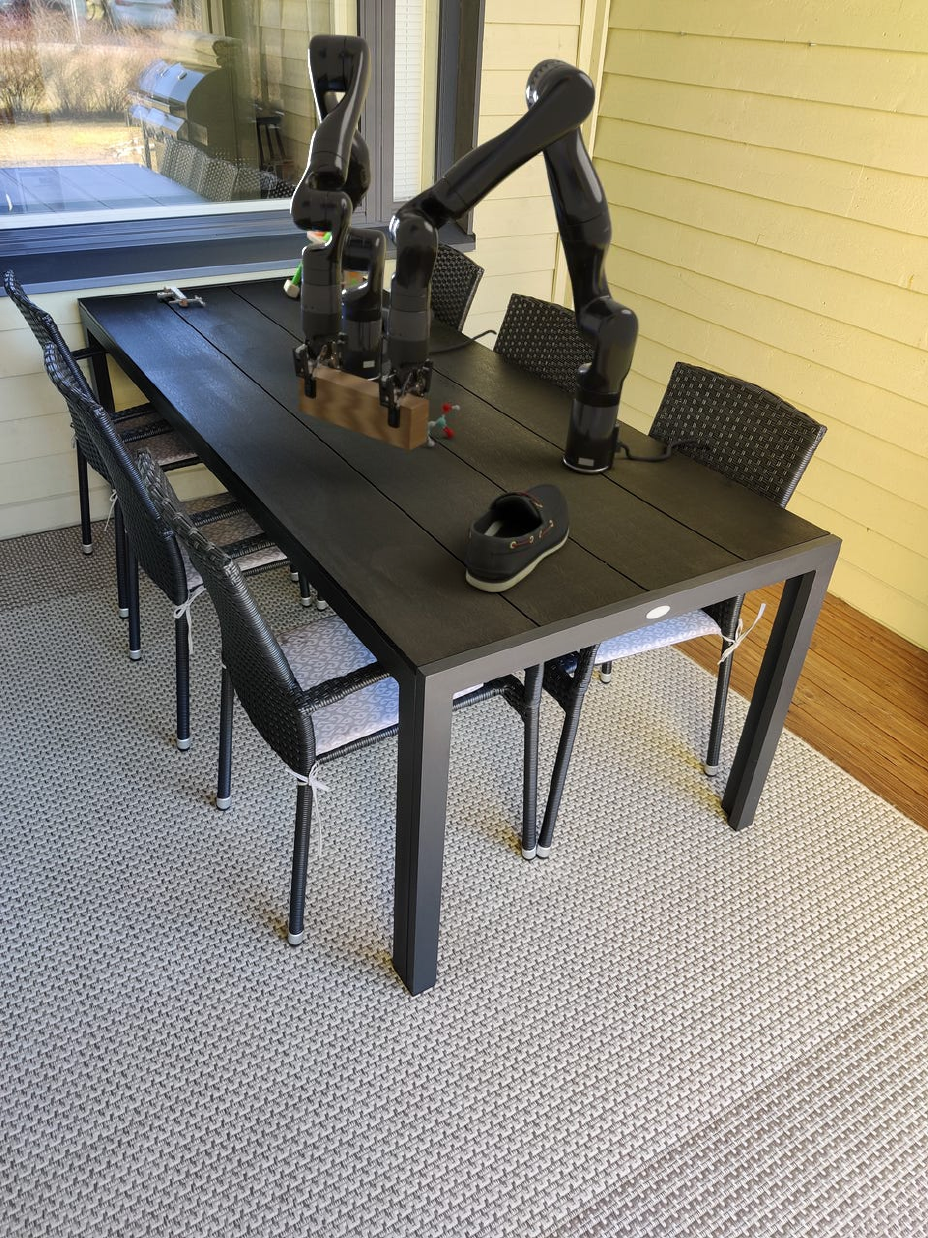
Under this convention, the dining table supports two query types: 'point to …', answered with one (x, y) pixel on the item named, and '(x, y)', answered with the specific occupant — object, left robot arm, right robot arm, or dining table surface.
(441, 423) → the molecular model
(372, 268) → the left robot arm
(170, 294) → the clamp
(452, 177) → the right robot arm
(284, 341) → the dining table surface
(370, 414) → the bar
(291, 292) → the pounding bench toy
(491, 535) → the boat shoe
